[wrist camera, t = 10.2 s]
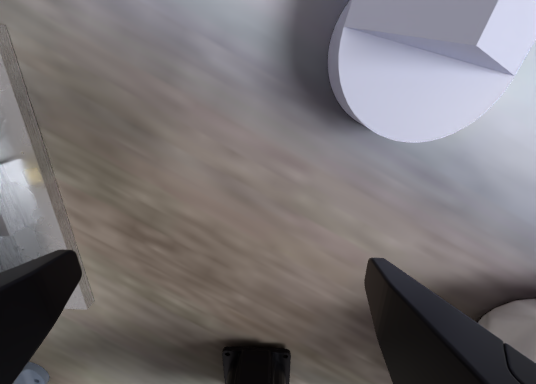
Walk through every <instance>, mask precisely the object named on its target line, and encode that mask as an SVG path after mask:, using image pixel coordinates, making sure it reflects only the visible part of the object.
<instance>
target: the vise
mask: <svg viewBox="0 0 536 384" xmlns="http://www.w3.org/2000/svg"><path fill="white" fill-rule="evenodd" d="M48 381H49V374H48V373H47V371H46V370H45V369H44V368H42V367H41V366H39V365H37V364H35V363H32V362H28V363H27V364H26V366H25V367H24V369H23V370H22V371H21V373H20V374H19V376H18V377H17V379H16V380H15V381H14V383H13V384H47V383H48Z"/></svg>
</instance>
